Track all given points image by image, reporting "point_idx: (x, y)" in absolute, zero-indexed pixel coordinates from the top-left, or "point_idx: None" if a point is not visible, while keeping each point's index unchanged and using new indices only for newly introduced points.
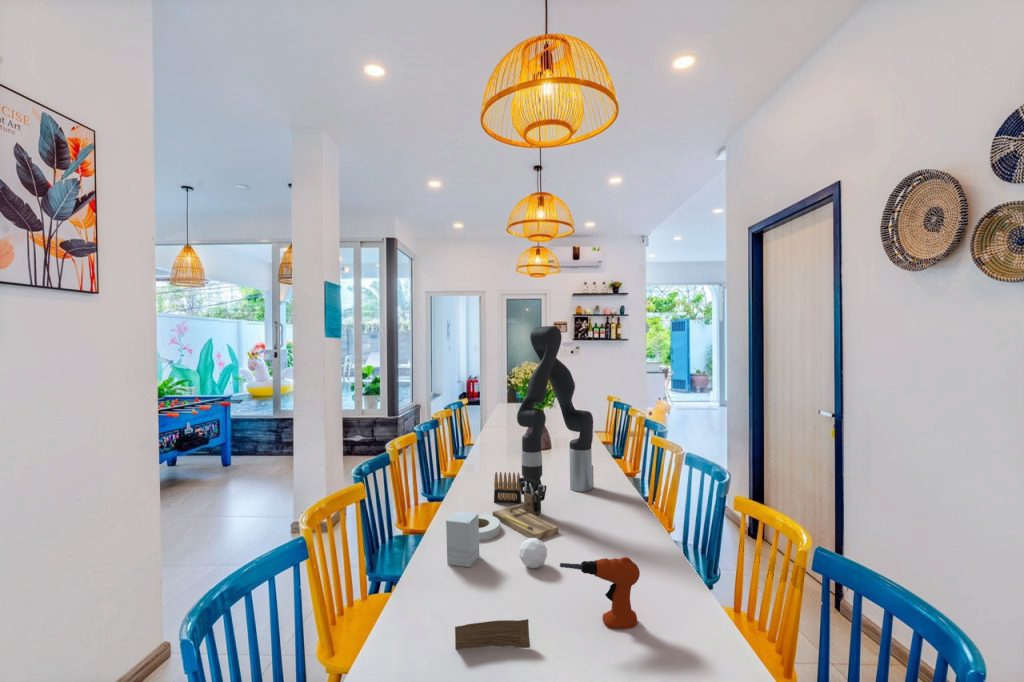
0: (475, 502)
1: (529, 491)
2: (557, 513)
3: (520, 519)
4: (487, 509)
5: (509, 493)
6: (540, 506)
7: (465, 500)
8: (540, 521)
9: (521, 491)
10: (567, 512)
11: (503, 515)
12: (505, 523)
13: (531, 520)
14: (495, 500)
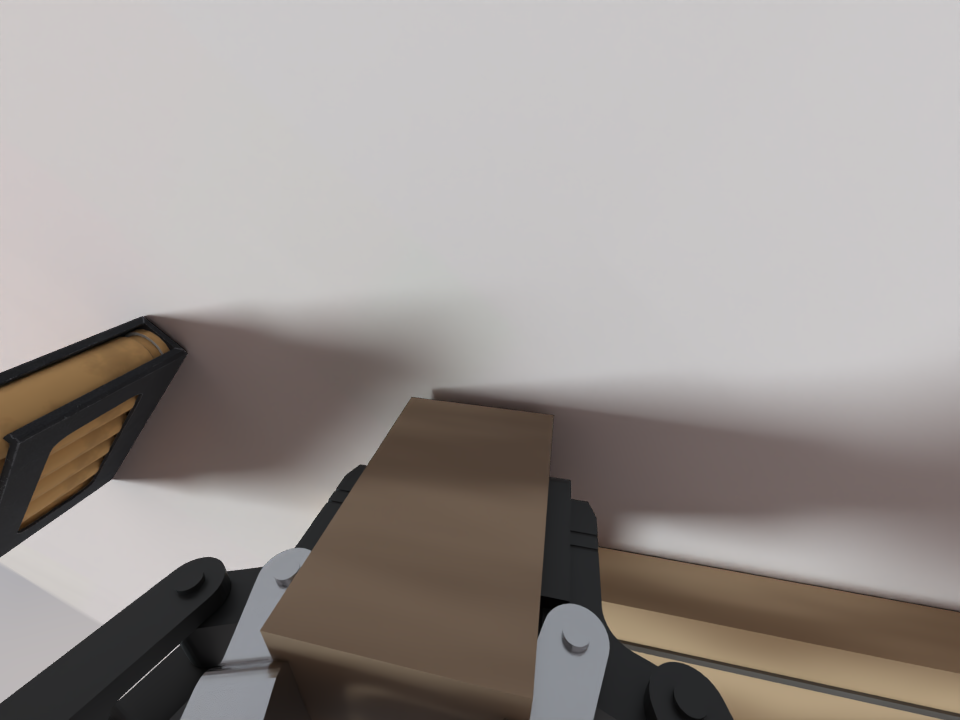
0: (83, 539)
1: (299, 709)
2: (713, 239)
3: None
4: None
5: (39, 478)
6: (548, 480)
7: (40, 548)
8: (822, 689)
9: (197, 670)
10: (857, 47)
11: None
12: None
13: None
14: (94, 488)
